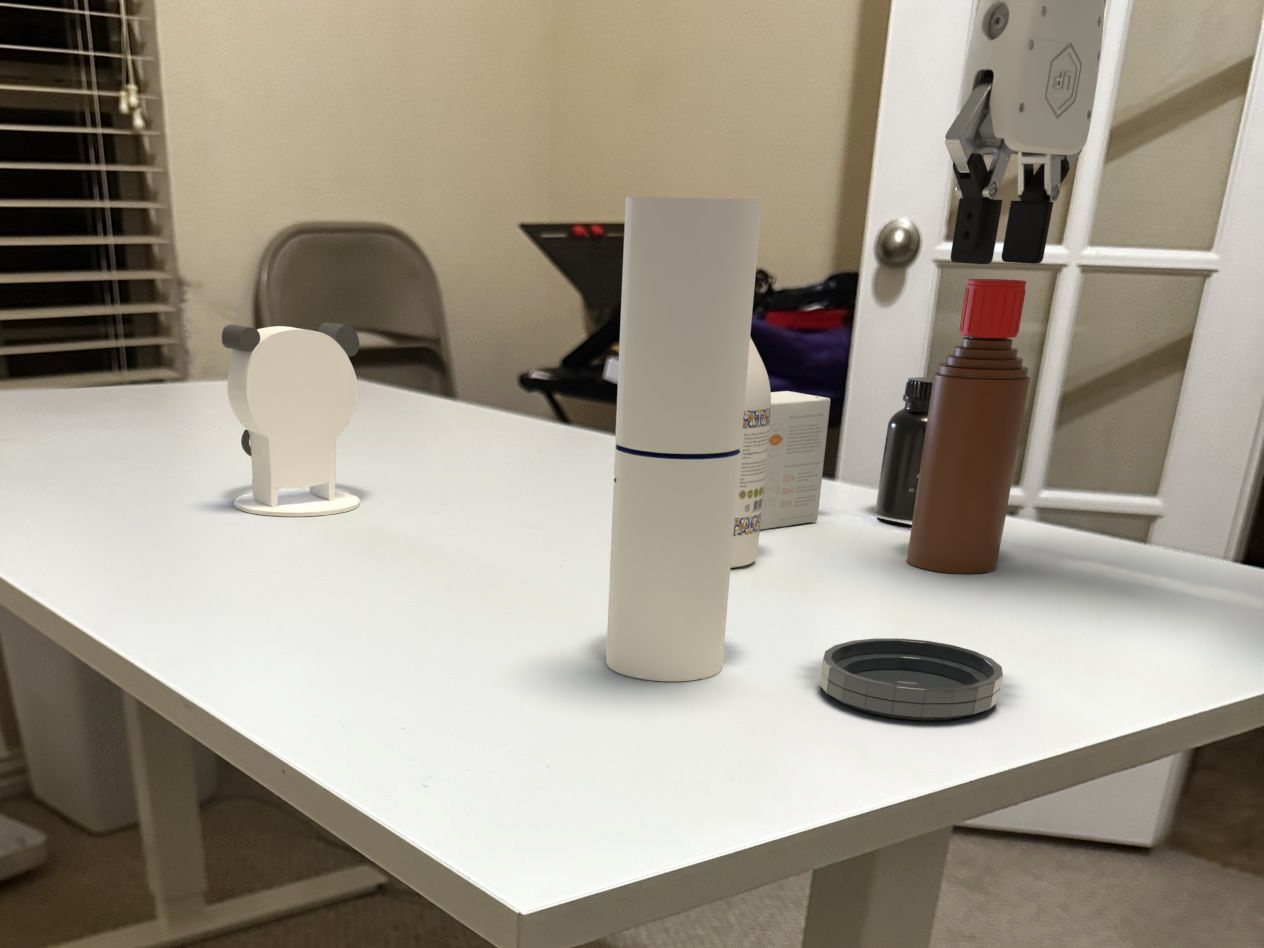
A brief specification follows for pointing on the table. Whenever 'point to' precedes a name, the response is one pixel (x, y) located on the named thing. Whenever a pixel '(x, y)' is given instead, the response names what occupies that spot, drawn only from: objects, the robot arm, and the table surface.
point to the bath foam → (752, 461)
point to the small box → (794, 459)
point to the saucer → (911, 678)
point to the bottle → (968, 457)
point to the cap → (992, 308)
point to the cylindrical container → (679, 431)
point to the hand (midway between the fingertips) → (996, 260)
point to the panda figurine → (293, 414)
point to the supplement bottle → (904, 454)
